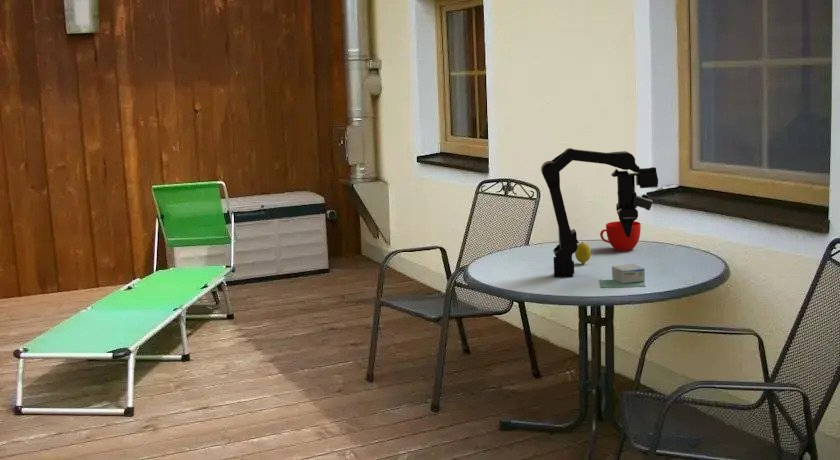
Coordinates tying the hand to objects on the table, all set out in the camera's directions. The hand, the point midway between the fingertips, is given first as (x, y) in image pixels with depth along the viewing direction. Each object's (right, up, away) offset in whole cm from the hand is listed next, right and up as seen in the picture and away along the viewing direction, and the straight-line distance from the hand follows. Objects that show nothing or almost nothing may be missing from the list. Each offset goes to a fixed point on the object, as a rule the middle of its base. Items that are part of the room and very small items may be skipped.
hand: (627, 234), depth 327 cm
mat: (-5, -16, -14) cm, 21 cm away
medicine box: (-3, -12, -7) cm, 14 cm away
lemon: (-12, -11, +20) cm, 26 cm away
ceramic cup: (+6, -6, +40) cm, 41 cm away
